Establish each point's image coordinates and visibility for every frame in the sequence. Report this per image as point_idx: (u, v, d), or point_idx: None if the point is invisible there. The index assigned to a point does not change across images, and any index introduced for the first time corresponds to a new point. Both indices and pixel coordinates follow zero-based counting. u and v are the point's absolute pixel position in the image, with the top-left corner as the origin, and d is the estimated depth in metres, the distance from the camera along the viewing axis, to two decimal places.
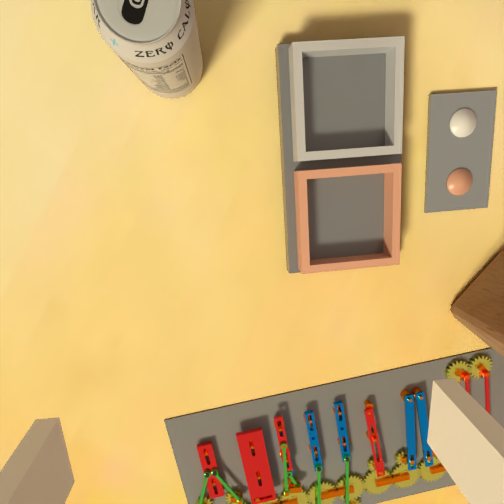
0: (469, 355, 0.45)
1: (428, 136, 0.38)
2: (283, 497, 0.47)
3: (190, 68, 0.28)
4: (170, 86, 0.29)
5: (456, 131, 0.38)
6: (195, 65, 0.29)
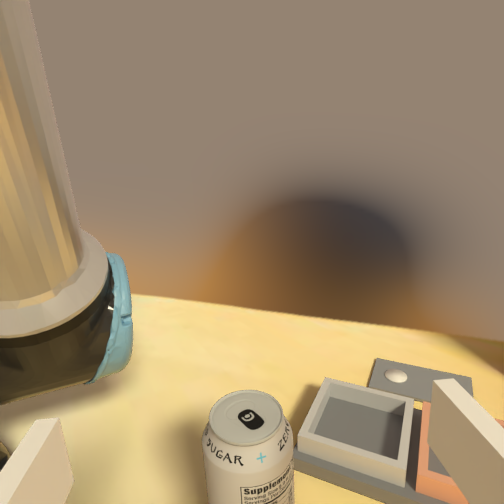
0: None
1: (401, 395, 0.46)
2: None
3: None
4: None
5: (401, 379, 0.49)
6: None
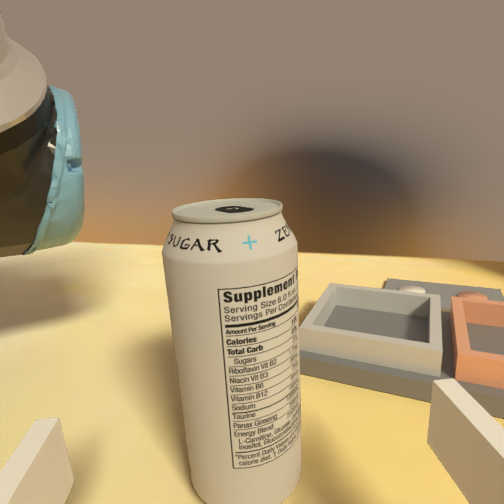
0: None
1: None
2: None
3: None
4: (298, 386, 0.18)
5: (419, 292, 0.41)
6: None
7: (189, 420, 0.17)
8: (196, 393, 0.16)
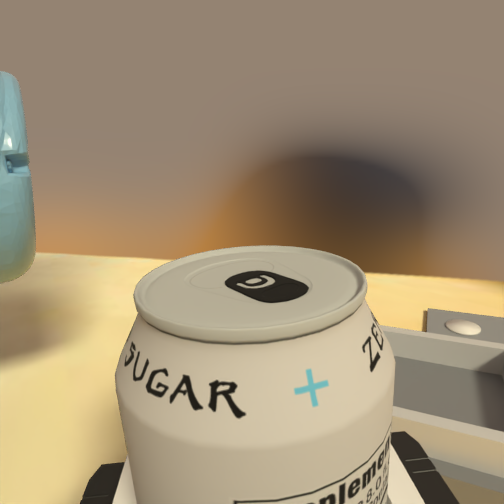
0: None
1: None
2: None
3: None
4: None
5: (473, 331, 0.33)
6: None
7: None
8: None
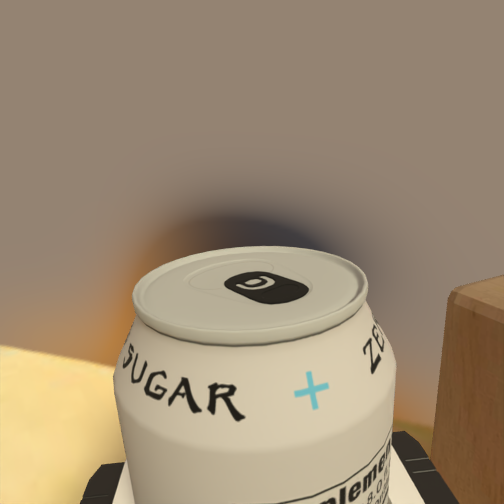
0: None
1: None
2: None
3: None
4: None
5: None
6: None
7: None
8: None
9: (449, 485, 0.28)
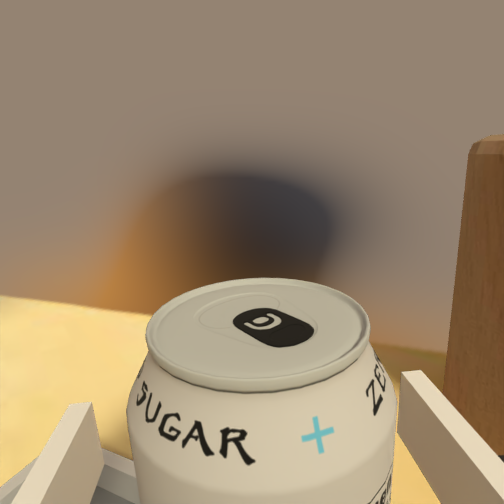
0: None
1: None
2: None
3: None
4: None
5: None
6: None
7: None
8: None
9: (469, 383, 0.24)
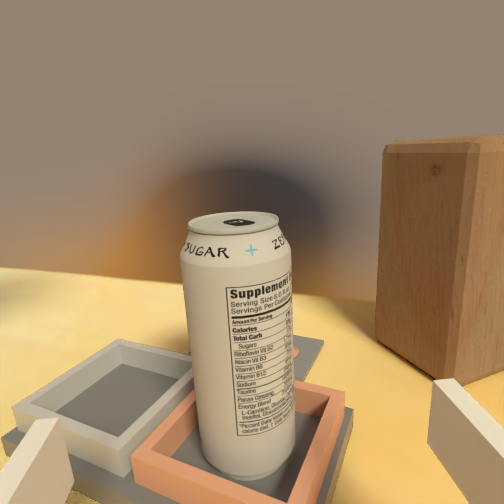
0: None
1: None
2: None
3: None
4: (292, 369, 0.21)
5: None
6: None
7: (200, 397, 0.21)
8: (207, 373, 0.19)
9: (388, 307, 0.35)
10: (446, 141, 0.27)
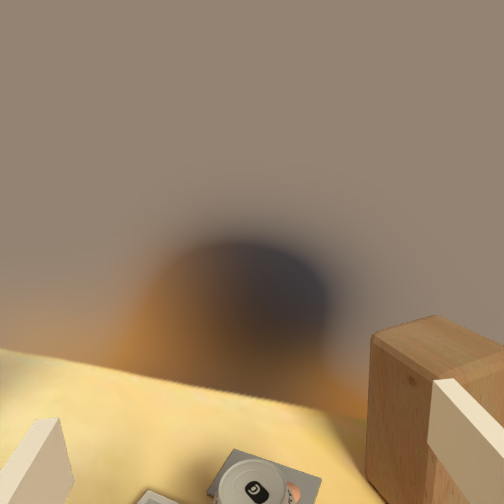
0: None
1: None
2: None
3: None
4: None
5: None
6: None
7: None
8: None
9: (375, 460, 0.42)
10: (419, 362, 0.34)
